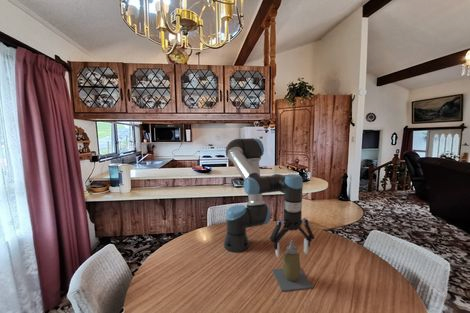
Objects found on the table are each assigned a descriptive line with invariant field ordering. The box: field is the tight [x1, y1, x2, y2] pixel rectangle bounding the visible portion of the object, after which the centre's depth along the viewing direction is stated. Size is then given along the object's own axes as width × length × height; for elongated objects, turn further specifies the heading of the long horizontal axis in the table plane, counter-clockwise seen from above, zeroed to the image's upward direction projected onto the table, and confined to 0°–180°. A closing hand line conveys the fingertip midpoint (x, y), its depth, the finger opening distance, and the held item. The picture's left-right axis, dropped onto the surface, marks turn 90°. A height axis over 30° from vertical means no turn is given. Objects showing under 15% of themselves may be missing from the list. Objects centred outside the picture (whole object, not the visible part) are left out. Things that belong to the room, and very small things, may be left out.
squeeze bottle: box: [282, 239, 302, 282], centre depth 97 cm, size 8×8×18 cm
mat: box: [271, 267, 314, 292], centre depth 98 cm, size 14×14×1 cm
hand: (291, 254), depth 97 cm, fingers open, 13 cm apart
